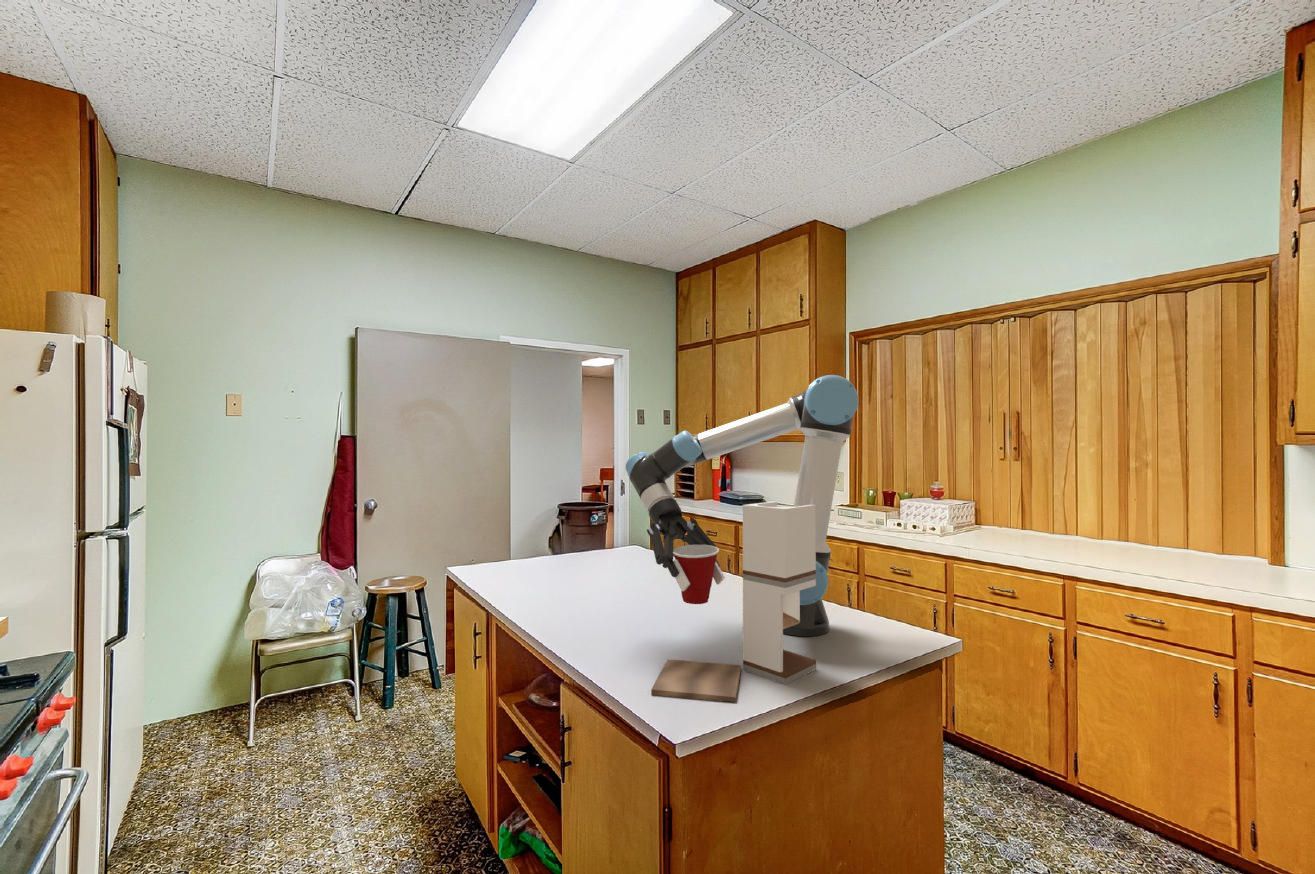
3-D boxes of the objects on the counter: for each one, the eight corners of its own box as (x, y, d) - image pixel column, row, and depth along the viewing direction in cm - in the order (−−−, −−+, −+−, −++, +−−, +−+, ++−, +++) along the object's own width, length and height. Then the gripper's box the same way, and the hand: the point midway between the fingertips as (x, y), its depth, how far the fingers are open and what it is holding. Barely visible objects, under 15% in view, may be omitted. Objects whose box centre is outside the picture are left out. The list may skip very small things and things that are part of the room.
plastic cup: (661, 600, 131) (661, 547, 131) (693, 592, 139) (694, 542, 139) (696, 611, 123) (696, 554, 123) (728, 601, 131) (729, 548, 131)
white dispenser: (785, 684, 115) (784, 509, 116) (743, 669, 123) (742, 505, 123) (816, 669, 123) (815, 505, 124) (774, 656, 131) (774, 501, 131)
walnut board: (741, 669, 123) (741, 665, 123) (735, 702, 107) (735, 697, 107) (667, 663, 126) (667, 659, 126) (651, 694, 110) (651, 689, 110)
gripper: (689, 512, 150) (731, 586, 137) (617, 519, 137) (656, 601, 124) (703, 494, 146) (748, 568, 133) (630, 499, 132) (672, 582, 120)
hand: (704, 584), depth 128 cm, fingers closed on plastic cup, 10 cm apart
